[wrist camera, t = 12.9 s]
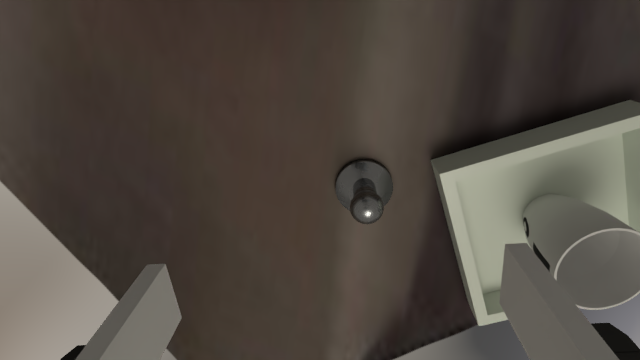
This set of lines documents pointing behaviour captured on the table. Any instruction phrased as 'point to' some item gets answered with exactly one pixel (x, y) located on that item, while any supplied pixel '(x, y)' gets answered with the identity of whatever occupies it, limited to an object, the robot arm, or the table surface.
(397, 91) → the table surface
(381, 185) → the stud post
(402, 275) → the table surface
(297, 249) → the table surface
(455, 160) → the bin
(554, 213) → the cup
